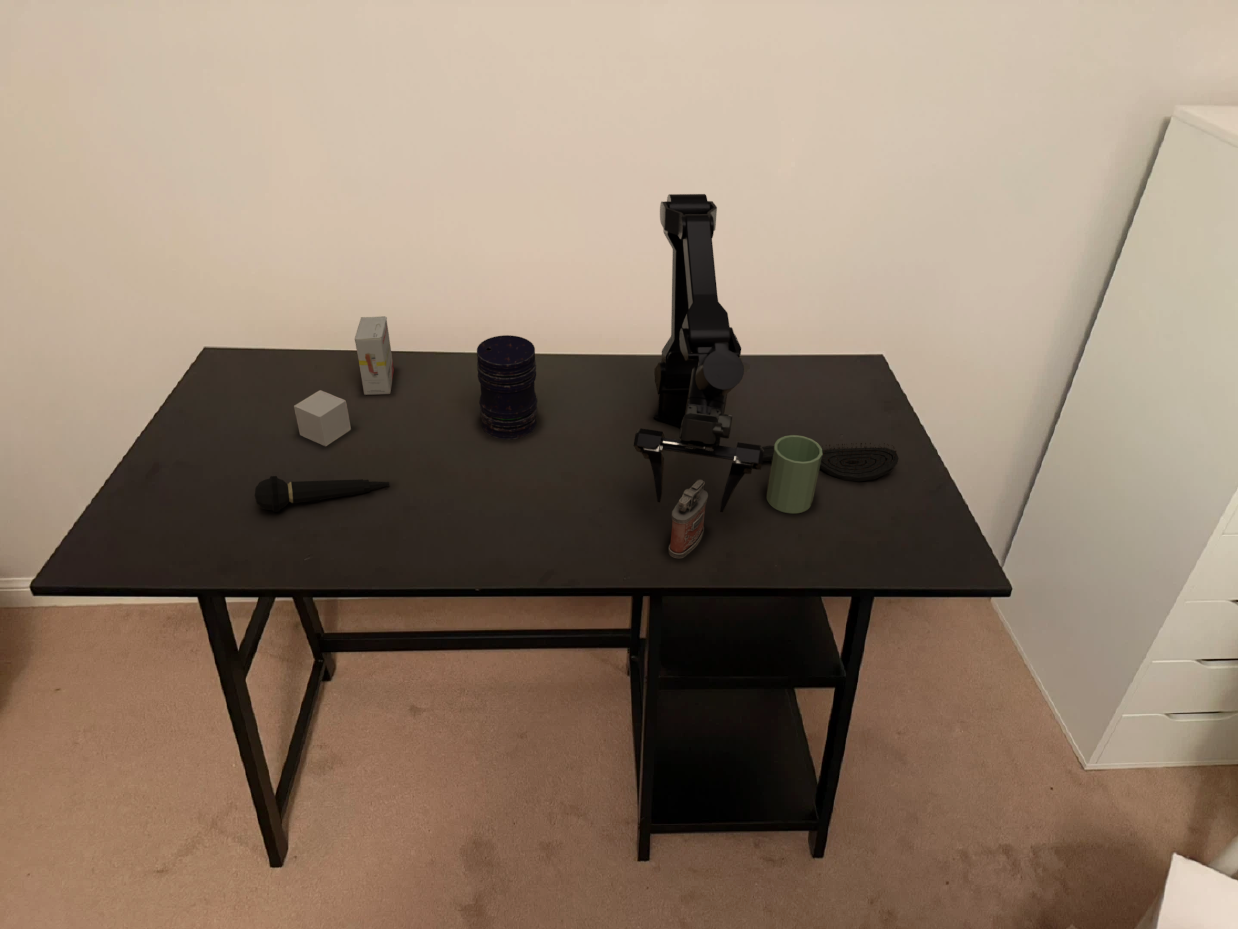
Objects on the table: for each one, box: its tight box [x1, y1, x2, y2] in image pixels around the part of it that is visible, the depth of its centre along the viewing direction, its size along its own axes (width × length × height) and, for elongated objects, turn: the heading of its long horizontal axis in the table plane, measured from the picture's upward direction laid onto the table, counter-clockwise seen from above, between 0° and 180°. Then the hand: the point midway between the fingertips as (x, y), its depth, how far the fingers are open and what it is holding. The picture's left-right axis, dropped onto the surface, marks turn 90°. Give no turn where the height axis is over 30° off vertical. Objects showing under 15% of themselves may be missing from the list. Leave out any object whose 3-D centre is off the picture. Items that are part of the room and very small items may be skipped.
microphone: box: [254, 475, 390, 513], centre depth 144 cm, size 6×6×20 cm
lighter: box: [668, 479, 709, 559], centre depth 137 cm, size 8×3×10 cm, turn 148°
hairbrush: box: [761, 442, 900, 482], centre depth 156 cm, size 8×4×25 cm
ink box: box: [354, 315, 395, 396], centre depth 169 cm, size 9×5×12 cm, turn 5°
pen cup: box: [765, 434, 823, 515], centre depth 146 cm, size 7×7×10 cm
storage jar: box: [476, 334, 538, 440], centre depth 159 cm, size 10×10×15 cm
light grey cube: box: [293, 389, 352, 447], centre depth 158 cm, size 6×6×6 cm
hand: (689, 507), depth 135 cm, fingers open, 9 cm apart
